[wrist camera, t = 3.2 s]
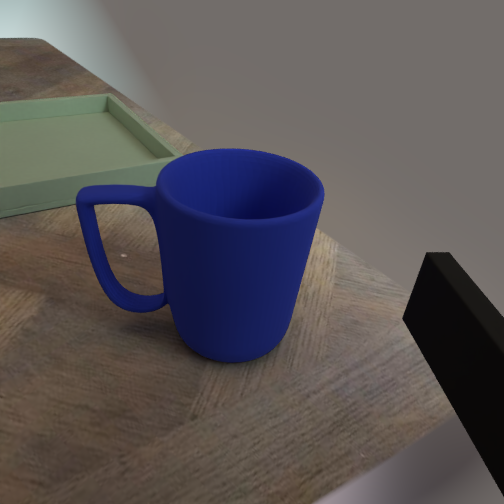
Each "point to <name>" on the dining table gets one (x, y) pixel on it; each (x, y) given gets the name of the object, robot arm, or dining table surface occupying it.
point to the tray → (73, 150)
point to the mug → (219, 246)
